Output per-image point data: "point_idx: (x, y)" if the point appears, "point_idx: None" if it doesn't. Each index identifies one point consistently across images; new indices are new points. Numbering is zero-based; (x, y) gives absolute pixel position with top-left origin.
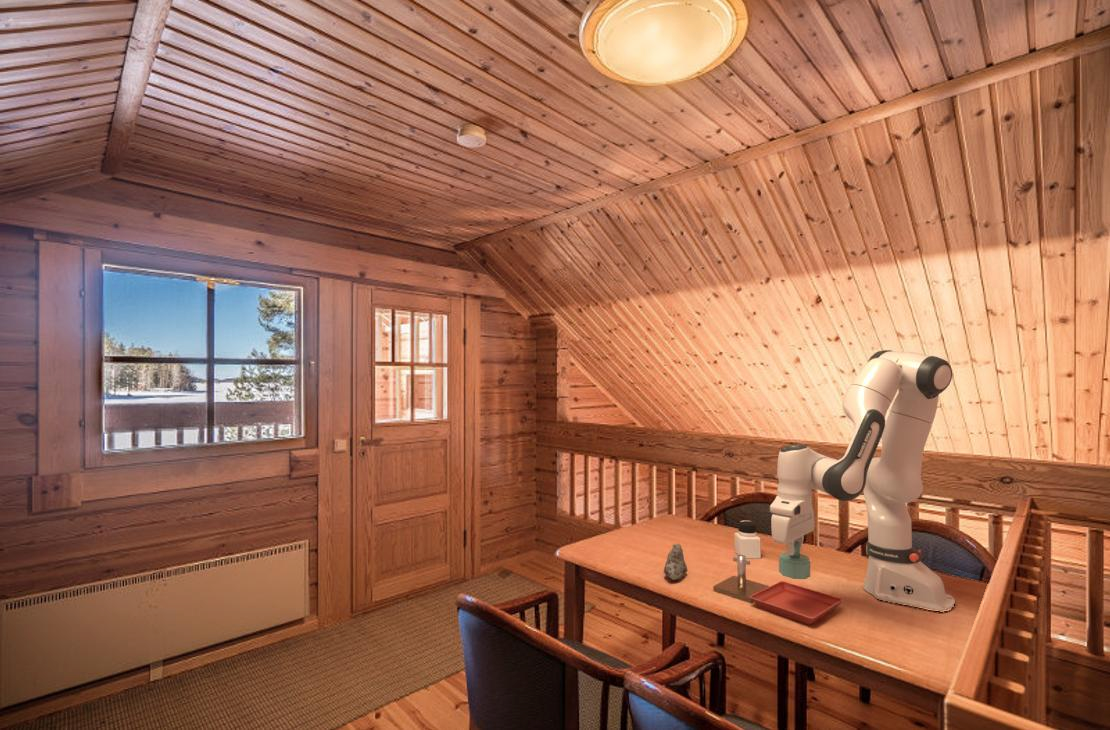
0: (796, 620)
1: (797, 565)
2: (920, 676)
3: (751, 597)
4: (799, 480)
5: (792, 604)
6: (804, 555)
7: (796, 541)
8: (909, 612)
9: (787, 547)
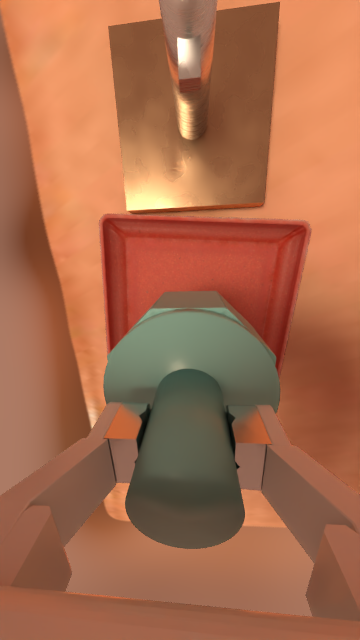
0: None
1: None
2: (107, 506)
3: (99, 223)
4: None
5: None
6: None
7: (234, 518)
8: (340, 472)
9: (75, 451)
